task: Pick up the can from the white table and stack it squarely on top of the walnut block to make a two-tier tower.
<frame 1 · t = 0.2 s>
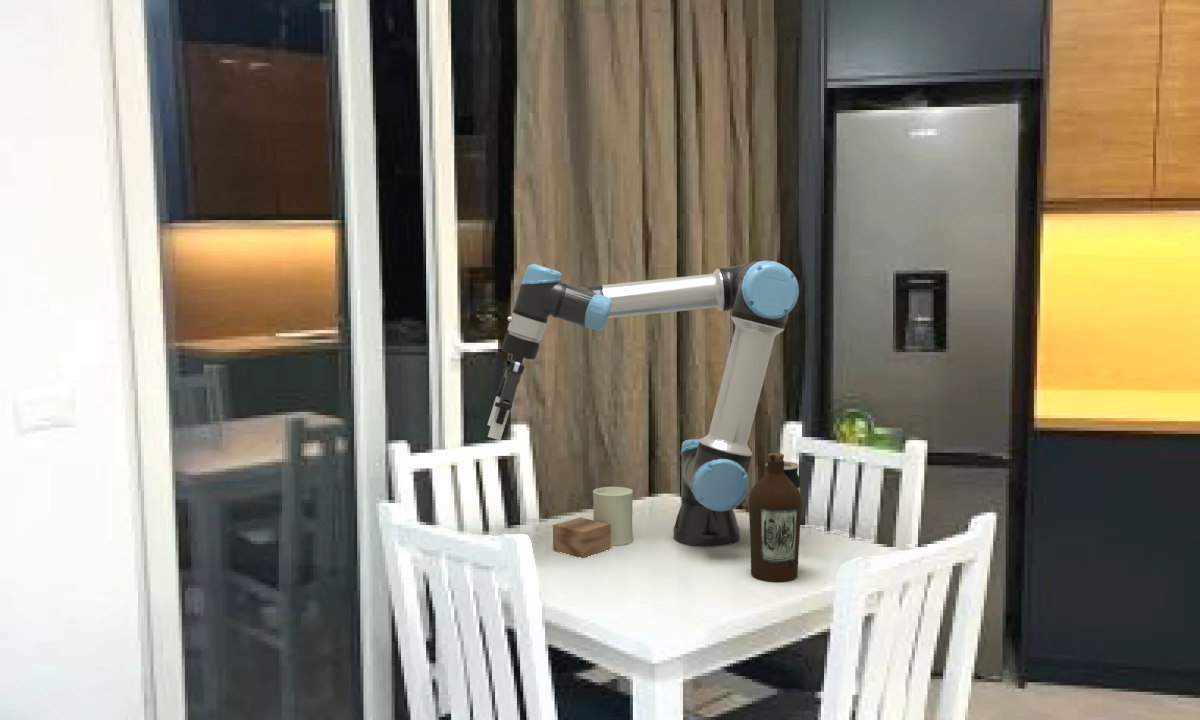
hand: (493, 432, 227), 28 cm above the table, tool tilted 20°, fingers open, 13 cm apart
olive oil: (773, 576, 218), on the table
walnut block: (581, 551, 237), on the table
can: (613, 541, 245), on the table
travel mug: (781, 543, 243), on the table
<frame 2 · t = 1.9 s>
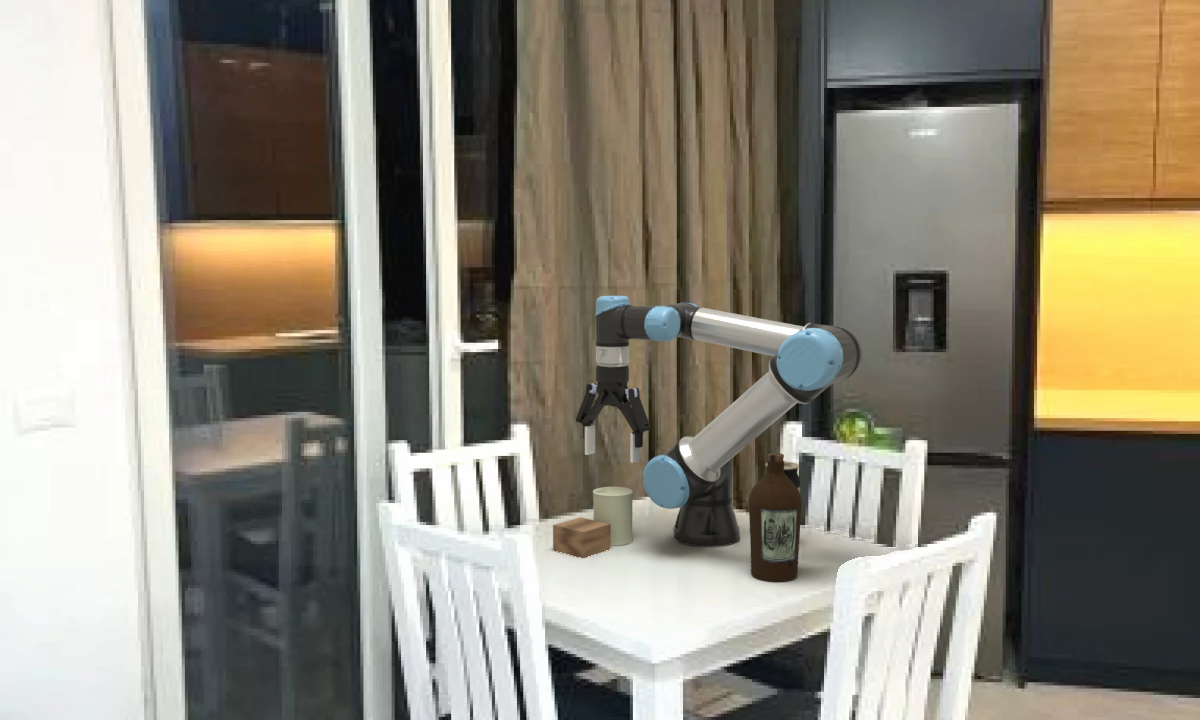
hand: (612, 457, 243), 19 cm above the table, tool pointing down, fingers open, 13 cm apart
nothing on the table moved.
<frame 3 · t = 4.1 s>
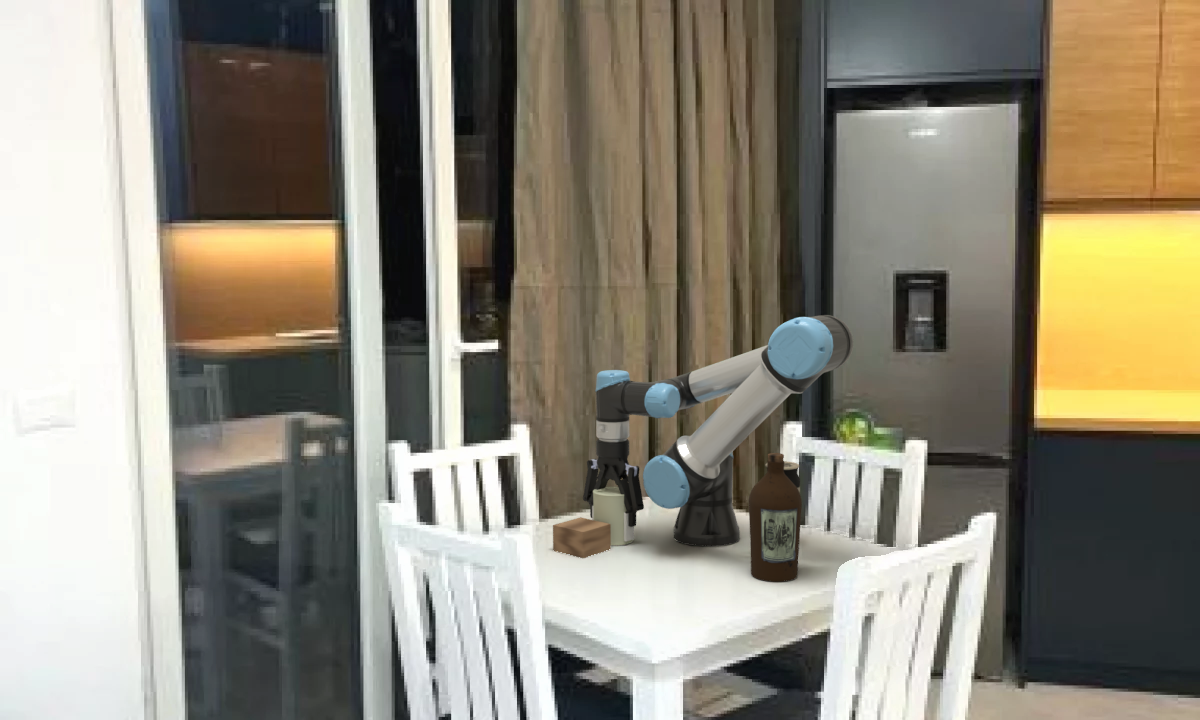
hand: (612, 536, 245), 1 cm above the table, tool pointing down, fingers closed on can, 9 cm apart
can: (613, 541, 245), on the table, touching gripper
everything else where it was.
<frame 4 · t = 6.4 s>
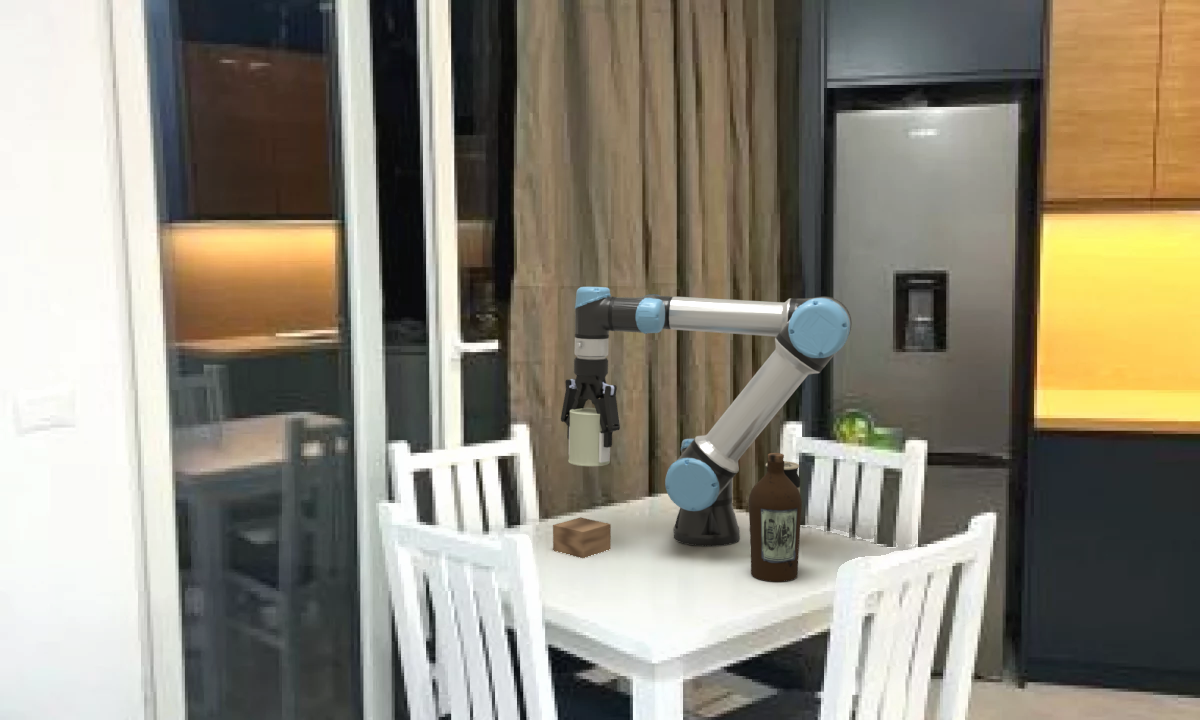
hand: (588, 457, 238), 20 cm above the table, tool pointing down, fingers closed on can, 9 cm apart
can: (588, 463, 238), point 19 cm above the table, touching gripper
everything else where it was.
when the fingers open (8 cm above the table, at t = 9.2 s): can drops 1 cm, point 6 cm above the table.
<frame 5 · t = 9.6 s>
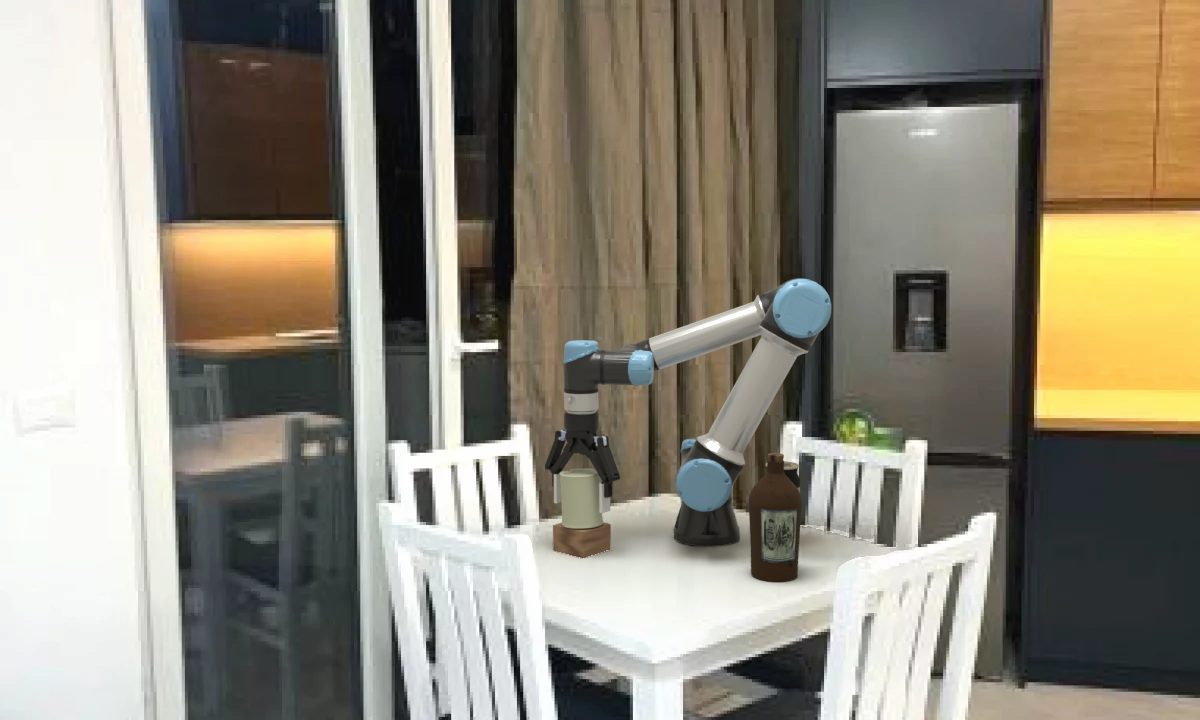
hand: (581, 507, 236), 10 cm above the table, tool pointing down, fingers open, 13 cm apart
can: (582, 524, 236), point 6 cm above the table
everything else where it was.
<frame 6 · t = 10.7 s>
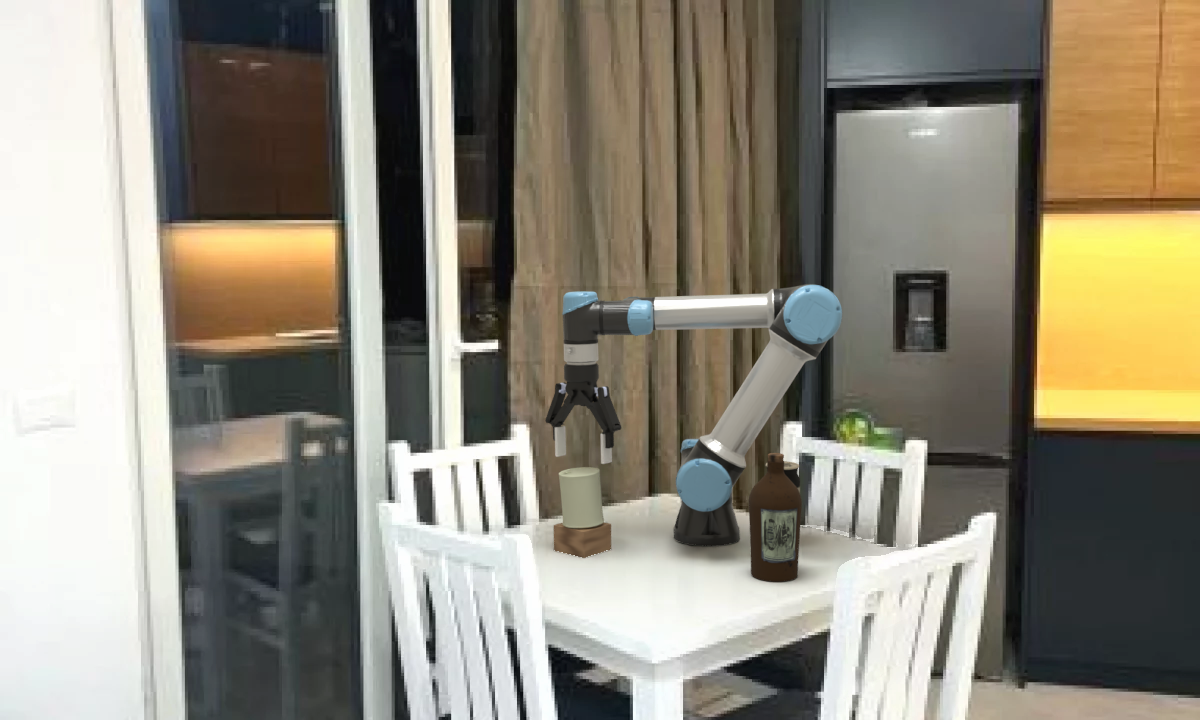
hand: (583, 459, 235), 20 cm above the table, tool pointing down, fingers open, 13 cm apart
walnut block: (582, 551, 237), on the table, touching can
can: (583, 523, 237), point 6 cm above the table, touching walnut block
everything else where it was.
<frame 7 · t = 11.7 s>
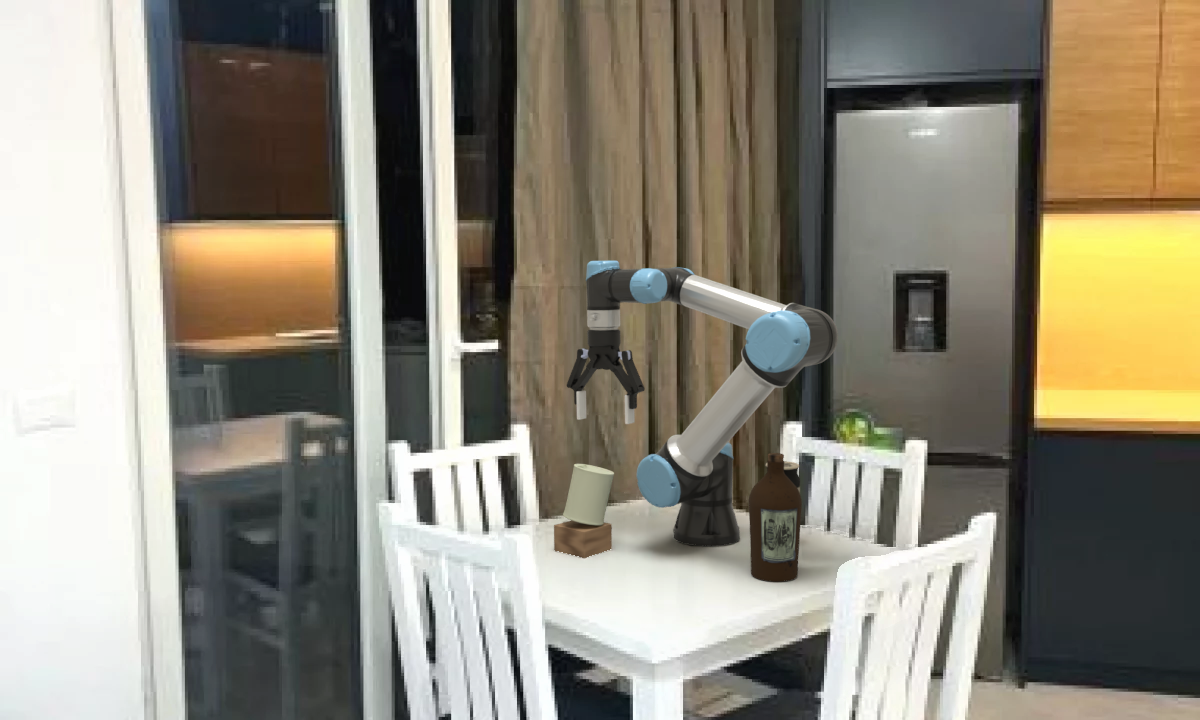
hand: (605, 421, 246), 27 cm above the table, tool pointing down, fingers open, 13 cm apart
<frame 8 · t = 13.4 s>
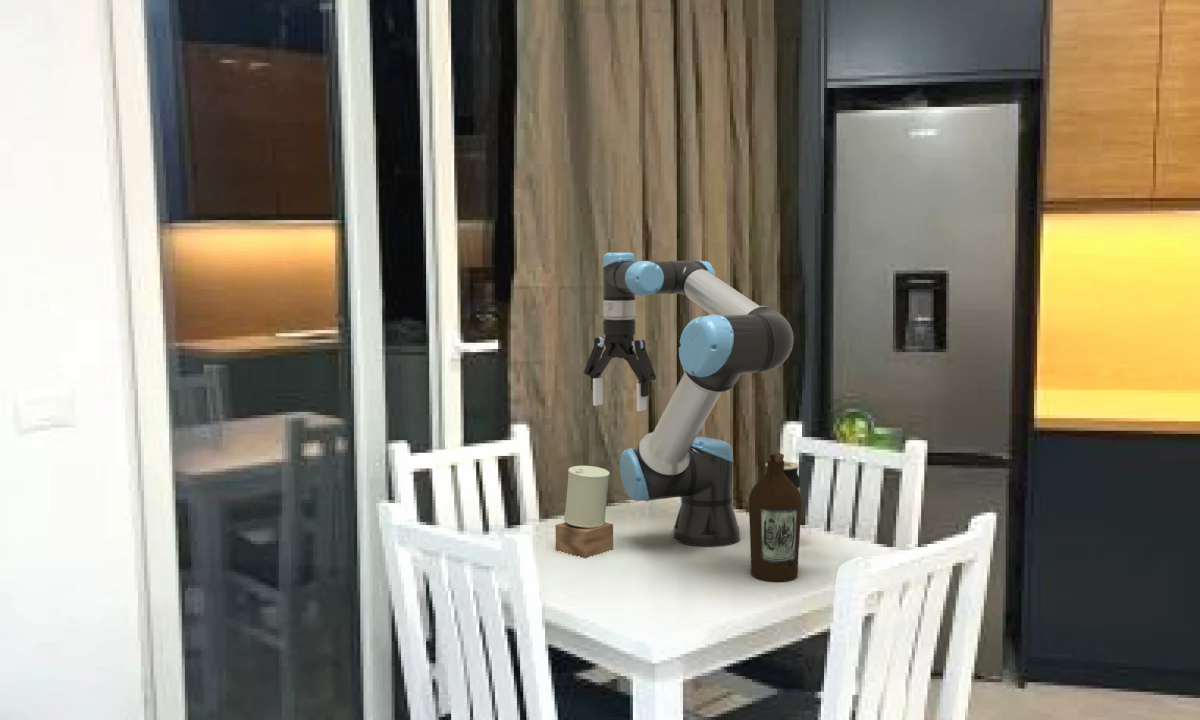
hand: (619, 407, 254), 29 cm above the table, tool pointing down, fingers open, 13 cm apart
at the end: can 1.0 cm off-centre on the walnut block, point 6.4 cm above the walnut block's base; can tilted 8°; walnut block moved 0.7 cm from its start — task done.
